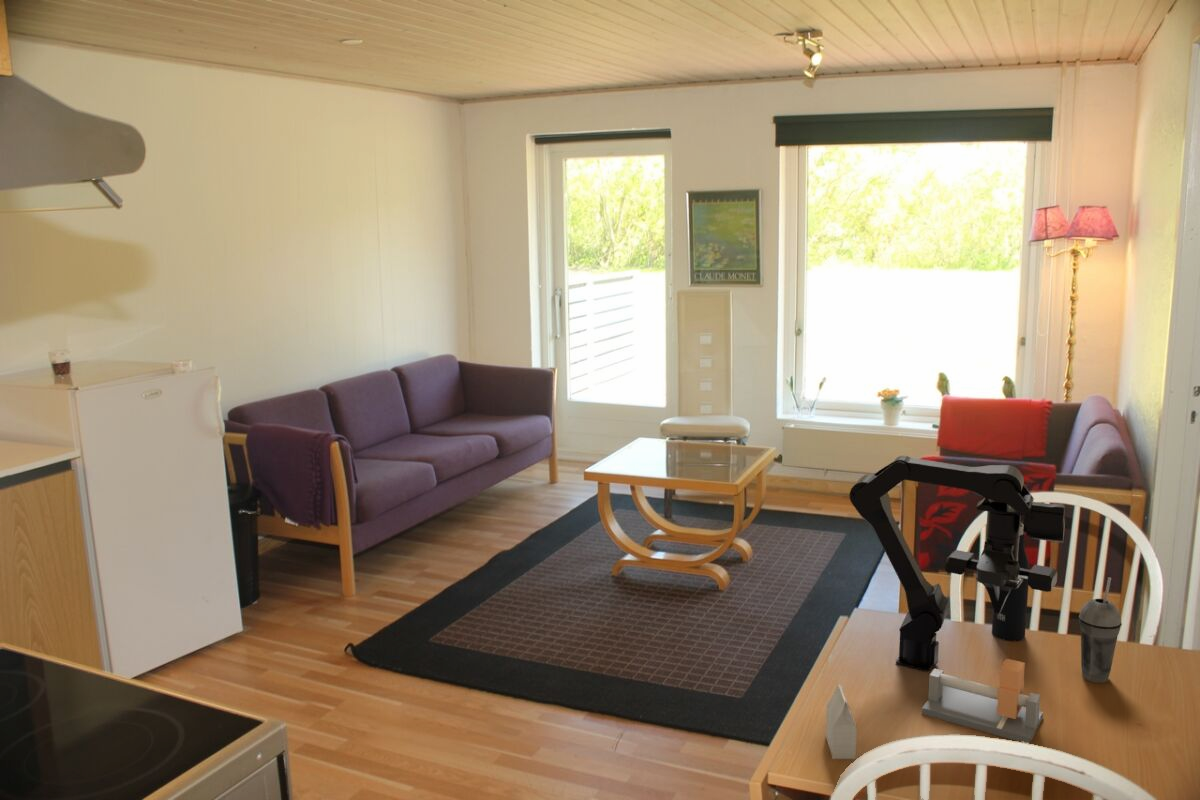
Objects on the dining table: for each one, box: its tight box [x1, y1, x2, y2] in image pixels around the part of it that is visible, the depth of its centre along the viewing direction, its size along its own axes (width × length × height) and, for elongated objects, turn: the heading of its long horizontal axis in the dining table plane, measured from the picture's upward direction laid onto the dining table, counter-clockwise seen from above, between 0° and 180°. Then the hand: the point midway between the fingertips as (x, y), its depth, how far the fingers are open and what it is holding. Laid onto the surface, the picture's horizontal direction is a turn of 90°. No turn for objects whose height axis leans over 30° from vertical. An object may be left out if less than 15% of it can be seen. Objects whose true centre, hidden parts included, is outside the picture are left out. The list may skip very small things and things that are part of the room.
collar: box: [997, 658, 1026, 719], centre depth 169 cm, size 3×5×8 cm, turn 145°
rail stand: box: [921, 668, 1044, 744], centre depth 172 cm, size 18×10×6 cm, turn 55°
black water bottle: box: [991, 515, 1030, 642], centre depth 200 cm, size 6×6×30 cm
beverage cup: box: [1078, 576, 1122, 684], centre depth 183 cm, size 7×7×20 cm
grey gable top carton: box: [825, 683, 857, 760], centre depth 163 cm, size 4×7×10 cm, turn 176°
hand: (997, 612), depth 184 cm, fingers closed
